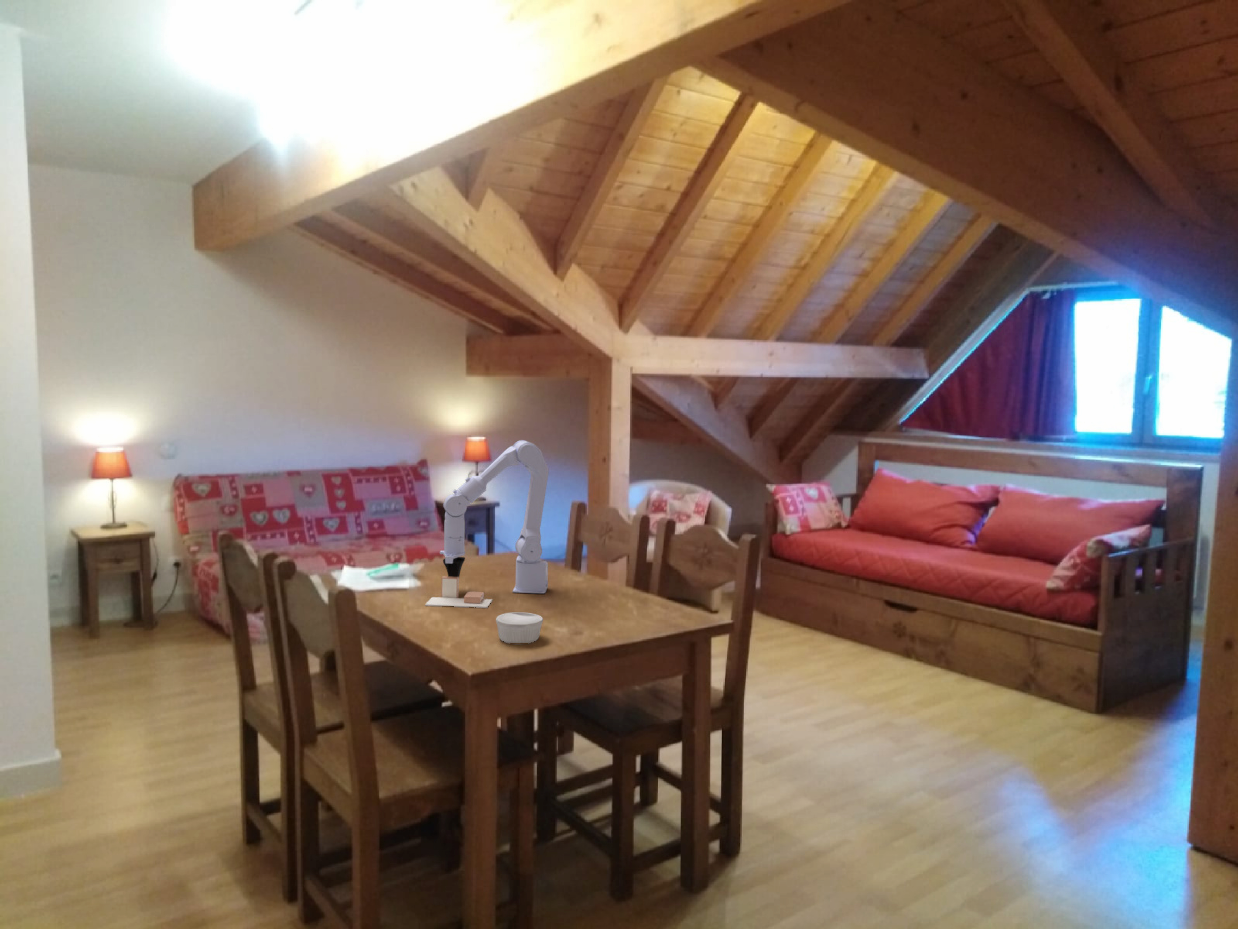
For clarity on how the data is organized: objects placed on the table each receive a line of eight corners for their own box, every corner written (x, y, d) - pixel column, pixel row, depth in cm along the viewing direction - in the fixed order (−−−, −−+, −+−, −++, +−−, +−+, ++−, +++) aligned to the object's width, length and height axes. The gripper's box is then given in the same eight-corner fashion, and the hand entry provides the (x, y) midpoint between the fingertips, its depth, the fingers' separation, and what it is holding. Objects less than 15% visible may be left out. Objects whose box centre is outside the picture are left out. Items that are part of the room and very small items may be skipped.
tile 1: (458, 597, 251) (458, 576, 251) (457, 599, 250) (457, 578, 249) (442, 597, 251) (442, 576, 251) (441, 598, 250) (441, 577, 249)
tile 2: (484, 592, 249) (480, 597, 244) (483, 598, 250) (480, 603, 244) (468, 591, 250) (463, 596, 244) (468, 597, 250) (463, 603, 244)
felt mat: (492, 600, 249) (492, 599, 249) (487, 608, 241) (487, 606, 241) (431, 598, 249) (431, 597, 249) (425, 605, 241) (425, 604, 241)
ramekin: (545, 633, 220) (545, 612, 219) (539, 647, 209) (539, 625, 208) (500, 631, 220) (500, 610, 219) (491, 645, 209) (492, 623, 208)
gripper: (446, 531, 261) (445, 576, 263) (434, 540, 247) (434, 588, 248) (469, 532, 261) (469, 577, 262) (459, 541, 247) (459, 589, 248)
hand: (453, 583), depth 255 cm, fingers closed
